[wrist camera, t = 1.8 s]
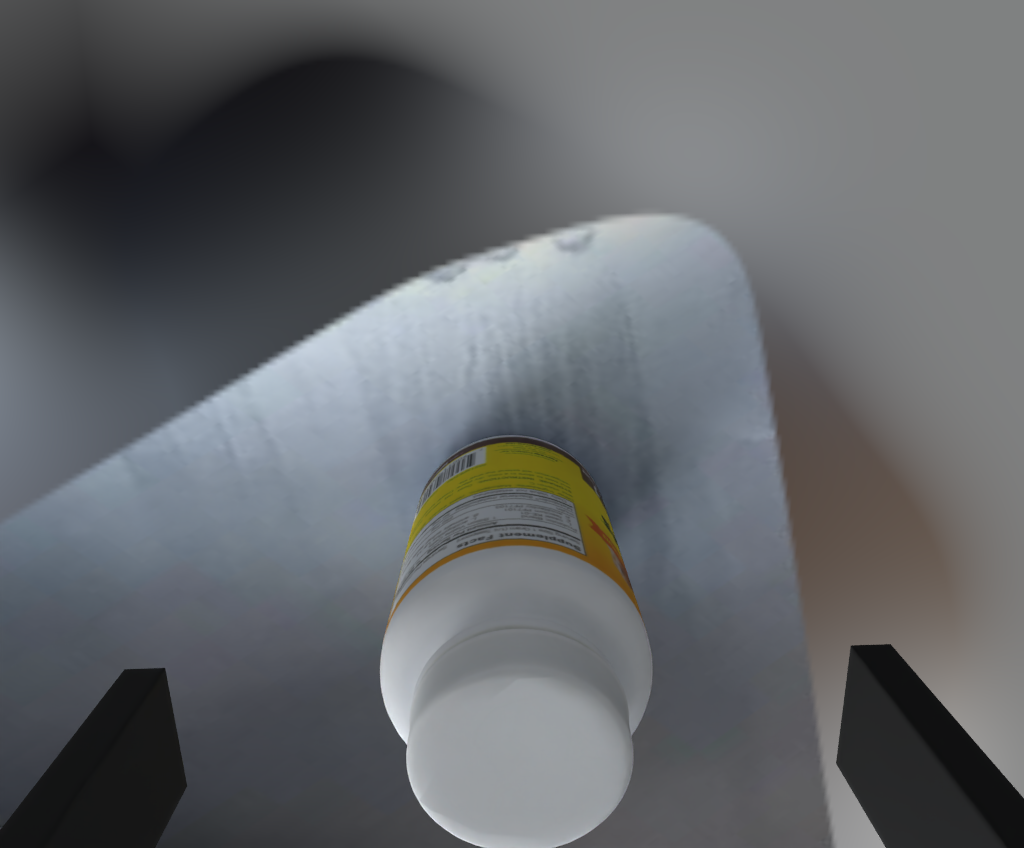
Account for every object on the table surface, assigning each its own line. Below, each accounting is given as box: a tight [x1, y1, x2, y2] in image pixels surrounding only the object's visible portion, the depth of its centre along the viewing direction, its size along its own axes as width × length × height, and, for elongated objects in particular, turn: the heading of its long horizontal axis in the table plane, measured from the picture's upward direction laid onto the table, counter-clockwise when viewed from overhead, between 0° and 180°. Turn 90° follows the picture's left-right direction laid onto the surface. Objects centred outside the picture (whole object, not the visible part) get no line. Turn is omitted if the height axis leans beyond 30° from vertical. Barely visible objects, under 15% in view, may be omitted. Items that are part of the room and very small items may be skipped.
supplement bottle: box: [380, 435, 653, 848], centre depth 18 cm, size 6×6×10 cm
